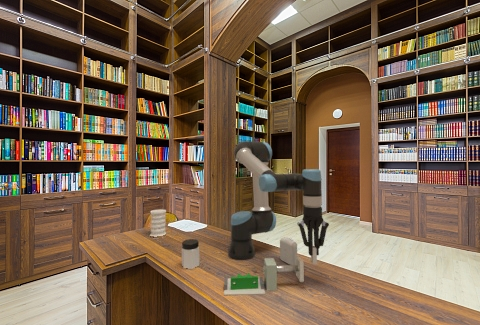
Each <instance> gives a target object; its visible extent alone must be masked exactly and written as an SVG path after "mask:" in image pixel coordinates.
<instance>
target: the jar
mask: <svg viewBox="0 0 480 325" xmlns="http://www.w3.org/2000/svg"><path fill="white" fill-rule="evenodd" d="M199 243H200V241H199V240H198V239H194V238H190V239H185V240H183V241H182V242H181V267H182V266H183V267H182V268H183V269H184V268H188V269H187V270H194V269H196V268H197V266H198V267H199V266H200V245H199ZM195 267H196V268H195ZM193 268H194V269H193Z"/></svg>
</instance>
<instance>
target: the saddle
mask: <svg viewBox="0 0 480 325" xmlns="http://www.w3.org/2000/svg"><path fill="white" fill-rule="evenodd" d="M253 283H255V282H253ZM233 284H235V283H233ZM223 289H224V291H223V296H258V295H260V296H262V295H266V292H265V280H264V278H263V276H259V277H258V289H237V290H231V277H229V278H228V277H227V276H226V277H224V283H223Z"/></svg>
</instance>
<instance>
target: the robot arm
mask: <svg viewBox="0 0 480 325" xmlns="http://www.w3.org/2000/svg"><path fill="white" fill-rule="evenodd" d="M272 156H273V149H272V147H271V145H270V144H269V143H268V142H264V141H247V140H245V141H240V142H239V143H238V144H236V145H235V147H234V149H233V157H234V159H235V160H236V162H238V164H242V165H243V166H244V167H246V168H245V169H247V170H248V171H249V172H250V173H251V174H252V187H253V188H252V190H253V206H254V207H253V208H252V209H251V211H249V210H241V211H237V212H235V213H233V214H232V215H231V218H230V244H229V245H228V246H229V247H228V249H227V256H228V257H229V258H231V259H234V260H236V261H237V260H240V261H241V260H242V261H243V260H249V259H252V258H254V257H255V255H256V250H255V246H254V242H253V240H252V235H258V234H263V233H264V234H265V233H268V232H272V231H273V230H274V229H275V228H276V224H277V216H276V214H275V212H274V211H272V208H271V207H270V206H269V193H272V192H282V191H283V192H284V191H302V204H303V206H302V212H303V217H302V219H301V221H298V222H297V223H296V224H297V226H298V228H299V231H300V234H301V238H302V242H303V245H304V246H306V247H308V255H309V256H310V262H311V263H312V265H317V264H318V260H317V259H318V258H317V257H318V256H319V253H320V252H319V251H320V250H319V249H320V247H323V246H324V243H325V239H326V236H327V235H326V234H327V229H328V227H329V226H330V223H329V222H327V221H325V220H324V217H323V207H322V205H323V199H322V198H323V194H322V181H323V180H322V179H323V178H322V172H321V170H320V169H319V168H314V169H310V168H309V169H306V168H305V169H302V173H296V172H294V173H292V172H291V173H276V172H275V171H273V170H272V169H271V168H270V167H269V166H268V165H269V163H270V162H269V161H271V159H272ZM305 226H306V228H307V234H306V230H305Z"/></svg>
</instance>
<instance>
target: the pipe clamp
mask: <svg viewBox="0 0 480 325" xmlns="http://www.w3.org/2000/svg"><path fill="white" fill-rule="evenodd" d="M230 278H231V290H237V289H258V278H259V275H253V276H252V275H251V273H249V272H248V273H247V274H246V275H241V274H240V273H237V276H230ZM253 282H255V283H253ZM233 283H235V284H233Z"/></svg>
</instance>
